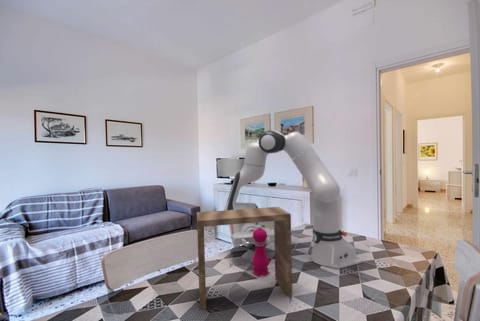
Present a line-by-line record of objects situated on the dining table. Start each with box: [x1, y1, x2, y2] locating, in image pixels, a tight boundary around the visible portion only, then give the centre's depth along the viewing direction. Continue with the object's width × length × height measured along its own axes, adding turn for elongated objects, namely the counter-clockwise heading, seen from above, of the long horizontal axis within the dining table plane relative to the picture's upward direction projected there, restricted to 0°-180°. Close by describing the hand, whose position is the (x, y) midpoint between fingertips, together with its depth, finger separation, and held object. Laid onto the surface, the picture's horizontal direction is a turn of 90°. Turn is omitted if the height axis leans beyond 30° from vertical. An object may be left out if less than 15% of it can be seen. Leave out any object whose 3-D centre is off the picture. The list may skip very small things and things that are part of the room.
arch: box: [196, 206, 293, 310], centre depth 87 cm, size 32×12×29 cm, turn 101°
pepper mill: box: [251, 224, 270, 277], centre depth 102 cm, size 7×7×20 cm
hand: (257, 243), depth 105 cm, fingers open, 8 cm apart
